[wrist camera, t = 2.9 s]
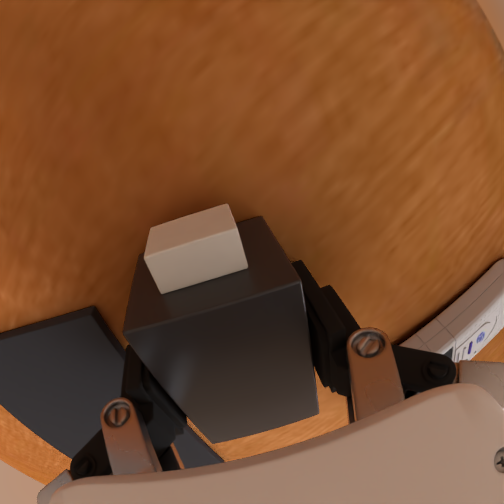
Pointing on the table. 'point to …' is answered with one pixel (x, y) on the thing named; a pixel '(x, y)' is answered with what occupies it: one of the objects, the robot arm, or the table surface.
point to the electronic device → (466, 320)
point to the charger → (223, 324)
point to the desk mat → (72, 382)
